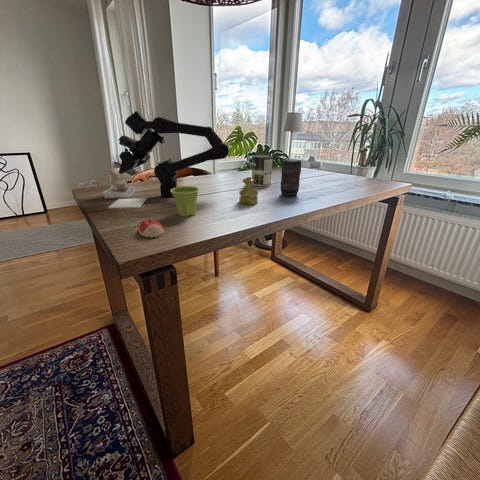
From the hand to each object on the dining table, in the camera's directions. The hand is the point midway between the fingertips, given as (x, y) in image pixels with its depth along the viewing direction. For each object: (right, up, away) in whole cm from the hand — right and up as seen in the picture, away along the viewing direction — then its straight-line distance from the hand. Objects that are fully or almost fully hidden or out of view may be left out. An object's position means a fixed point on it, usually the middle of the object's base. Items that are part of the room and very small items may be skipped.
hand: (124, 171), depth 109 cm
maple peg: (-4, -9, +4) cm, 11 cm away
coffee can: (+60, 0, +26) cm, 65 cm away
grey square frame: (-4, -9, +4) cm, 11 cm away
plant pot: (+30, -20, -18) cm, 40 cm away
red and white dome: (+23, -27, -33) cm, 48 cm away
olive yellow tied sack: (+52, -14, -5) cm, 54 cm away
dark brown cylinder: (+70, -9, +6) cm, 71 cm away
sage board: (+5, -15, -8) cm, 18 cm away
